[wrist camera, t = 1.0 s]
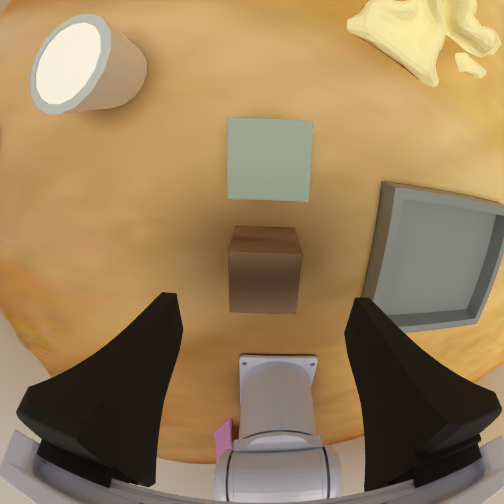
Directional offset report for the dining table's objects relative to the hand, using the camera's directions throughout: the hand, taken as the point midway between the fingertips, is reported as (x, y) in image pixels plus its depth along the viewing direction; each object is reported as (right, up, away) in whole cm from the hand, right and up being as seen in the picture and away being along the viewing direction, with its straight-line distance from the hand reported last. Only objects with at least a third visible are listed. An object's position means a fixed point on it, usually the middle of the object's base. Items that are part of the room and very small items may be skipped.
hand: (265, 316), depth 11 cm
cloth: (+17, +25, +2) cm, 30 cm away
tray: (+17, +2, +11) cm, 20 cm away
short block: (0, +2, +11) cm, 12 cm away
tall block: (+1, +10, +8) cm, 13 cm away
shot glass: (-11, +17, +6) cm, 21 cm away
